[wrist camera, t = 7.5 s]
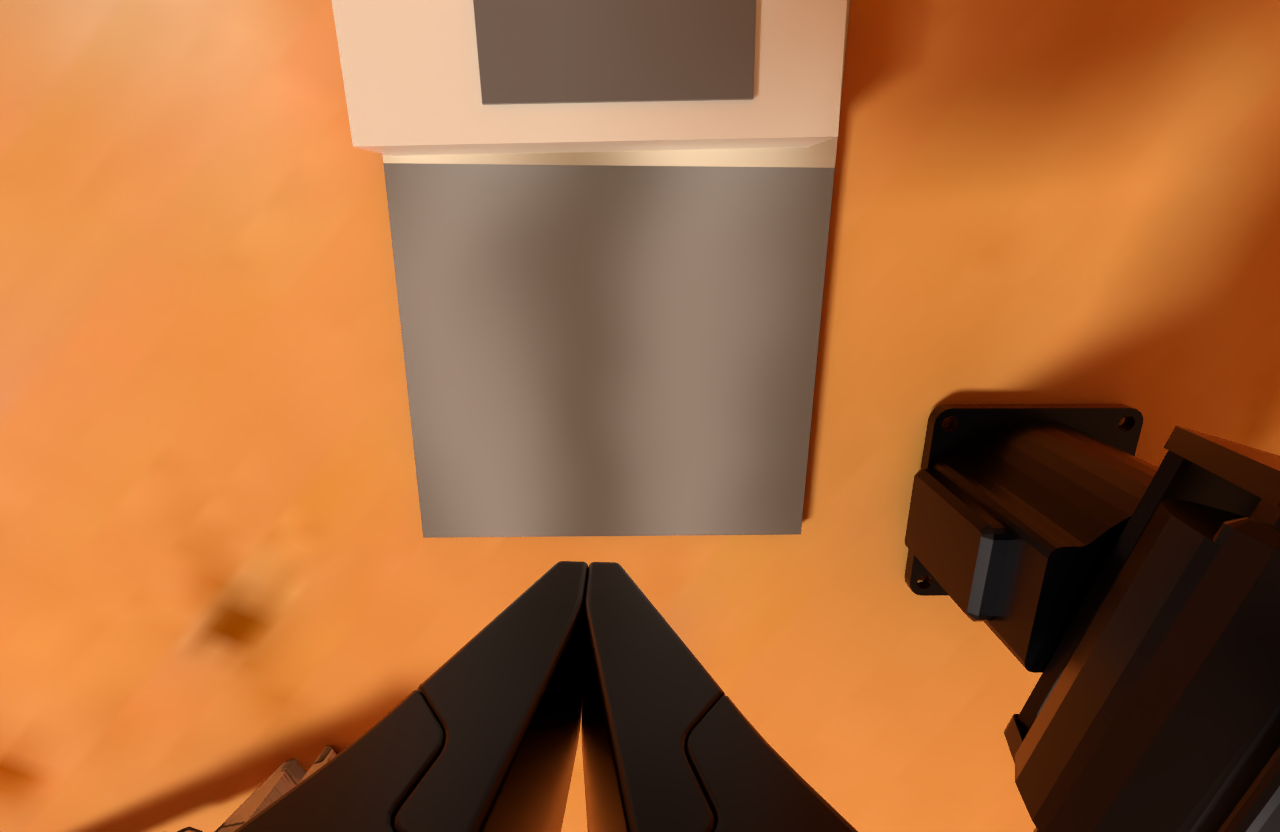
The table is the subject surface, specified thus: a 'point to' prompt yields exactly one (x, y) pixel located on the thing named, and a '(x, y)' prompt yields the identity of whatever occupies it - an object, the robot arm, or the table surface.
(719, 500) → the subfloor panel
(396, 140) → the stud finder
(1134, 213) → the table surface
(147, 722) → the table surface
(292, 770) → the caliper
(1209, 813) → the robot arm
